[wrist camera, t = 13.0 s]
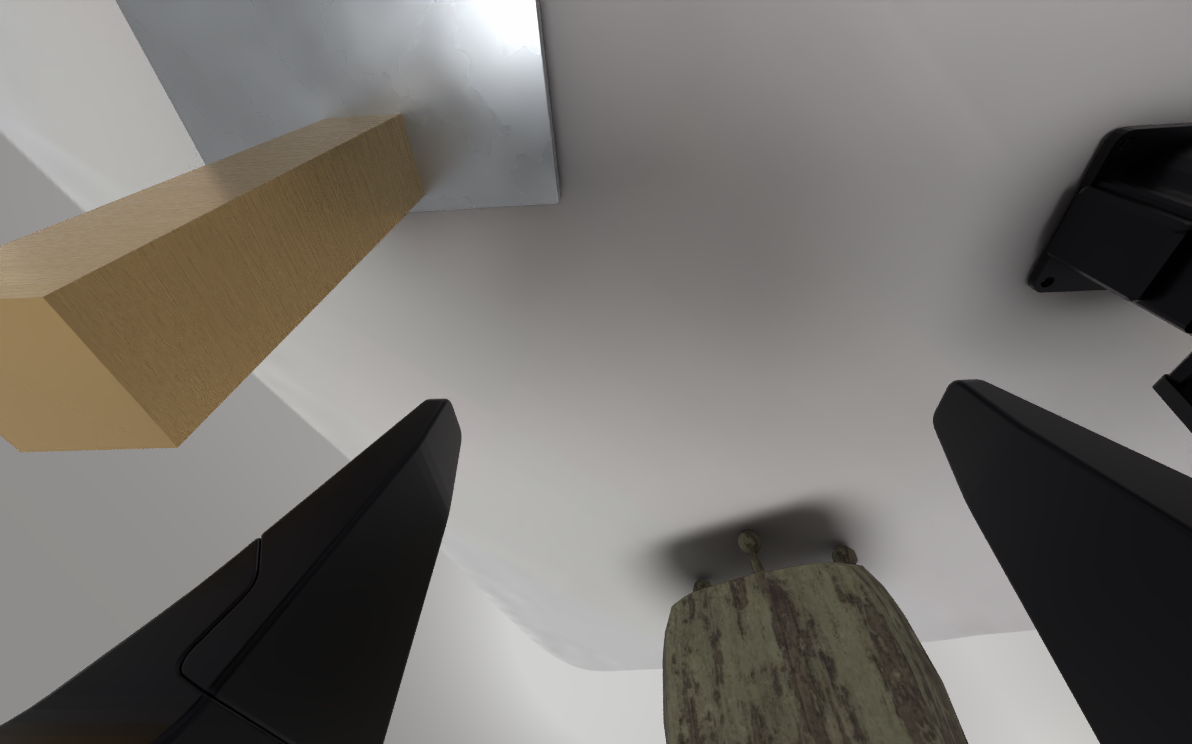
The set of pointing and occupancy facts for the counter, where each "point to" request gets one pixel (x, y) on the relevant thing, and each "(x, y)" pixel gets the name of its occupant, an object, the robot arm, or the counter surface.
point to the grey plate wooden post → (263, 200)
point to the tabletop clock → (800, 661)
